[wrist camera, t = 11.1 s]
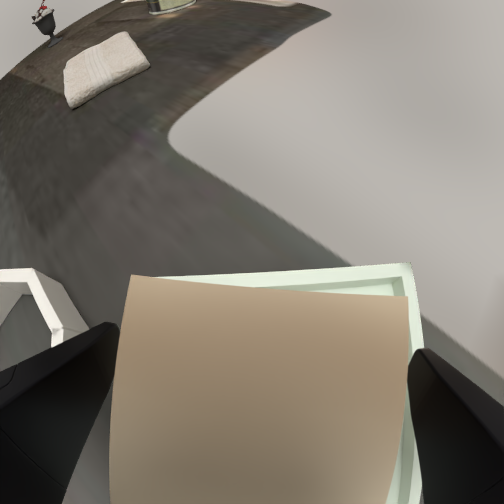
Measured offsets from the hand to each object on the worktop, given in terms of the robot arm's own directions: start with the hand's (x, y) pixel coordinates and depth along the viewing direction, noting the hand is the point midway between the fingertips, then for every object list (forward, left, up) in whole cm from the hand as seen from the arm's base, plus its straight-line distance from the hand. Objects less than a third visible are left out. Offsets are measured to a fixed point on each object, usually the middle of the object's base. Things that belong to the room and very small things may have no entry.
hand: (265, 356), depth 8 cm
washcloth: (+38, +21, -10) cm, 44 cm away
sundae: (+70, +50, -9) cm, 86 cm away
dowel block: (-1, 0, -8) cm, 8 cm away
